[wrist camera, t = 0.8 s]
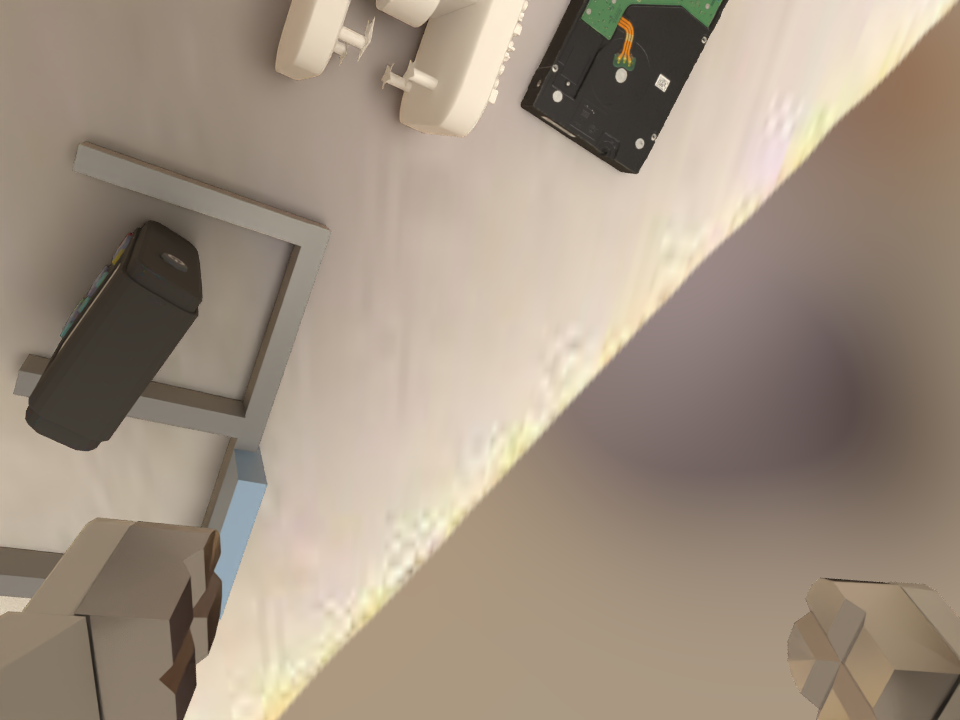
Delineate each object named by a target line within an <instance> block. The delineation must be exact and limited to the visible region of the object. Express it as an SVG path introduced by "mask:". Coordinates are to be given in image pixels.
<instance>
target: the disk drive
mask: <svg viewBox="0 0 960 720" xmlns="http://www.w3.org/2000/svg"><path fill="white" fill-rule="evenodd" d="M727 2H728V0H571V2H570V4H569V6H568V8H567V11H566V13H565V14H564V17H563V19H562V21H561V23H560V25H559V27H558V29H557V31H556V34H555V35H554V38H553V40H552V41H551V43H550V46H549V48H548V50H547V52H546V54H545V56H544V58H543V60H542V62H541V64H540V66H539V68H538V69H537V71H536V73H535V75H534V76H533V79H532V81H531V83H530V85H529V87H528V90H527V92H526V94H525V96H524V99H523V101H522V102H521V107H522V108H523V109H525V110H527V111H528V112H530V113H531V114H533V115H534V116H536V117H538V118H539V119H540V120H542V121H543V122H545V123H546V124H548V125H549V126H551V127H553V128H554V129H556V130H557V131H559V132H560V133H561V134H563V135H565V136H566V137H568V138H569V139H571V140H572V141H574V142H576V143H577V144H579V145H580V146H582V147H583V148H585V149H586V150H588V151H589V152H591V153H592V154H594V155H595V156H597V157H598V158H600V159H602V160H603V161H605V162H607V163H608V164H610V165H612V166H613V167H614V168H616V169H617V170H619V171H620V172H625V173H633V174H638V173H639V170H640V168H641V167H642V165H643V163H644V161H645V160H646V159H647V157H648V155H649V153H650V151H651V149H652V147H653V145H654V143H655V139H656V138H657V137H658V135H659V133H660V131H661V129H662V127H663V126H664V123H665V121H666V119H667V117H668V116H669V114H670V111H671V109H672V108H673V106H674V104H675V102H676V100H677V98H678V96H679V94H680V92H681V90H682V88H683V86H684V84H685V82H686V80H687V79H688V77H689V74H690V73H691V71H692V69H693V66H694V65H695V63H696V62H697V59H698V58H699V56H700V53H701V52H702V50H703V48H704V46H705V44H706V42H707V40H708V38H709V36H710V34H711V33H712V31H713V29H714V28H715V26H716V24H717V22H718V20H719V19H720V17H721V14H722V11H723V9H724V7H725V5H726V4H727Z"/></svg>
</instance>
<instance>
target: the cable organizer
mask: <svg viewBox="0 0 960 720" xmlns="http://www.w3.org/2000/svg"><path fill="white" fill-rule="evenodd" d="M350 2H351V0H292V2H291V6H290V9H289V12H288V15H287V18H286V22H285V25H284V28H283V31H282V35H281V38H280V42H279V46H278V50H277V56H276V62H275V70H276V72H279V73H281V74H283V75H285V76H288V77H290V78H292V79H295V80H297V81H299V80H303V79H307V78H311V77H315V76H319V75H320V74H321V73H322V72H323V70H324V69H325V67H326V66H327V64H328V62H329V60H330V58H331V56H332V53H333V52H335V53H337V54H339V55H340V56H339V58H341V61H340V65H341V63H342V61H343V59H344V57H345V56H346V55H347V51H348V47H349V44H351V45H353V46H355V47H357V48H359V49H360V52H359V56H358V60H359V59H360V57H361V56H362V54H363V53H364V51H365V49H366V48H367V46H368V45H369V43H370V42H371V39H372V33H373V27H374V21H375V17H374V19H373V21H372V22H371V24H370V25H369V19H368V23H367V26H366V30H365V33H364V36H363V35H361V34H359V33H357V32H355V31H353V30H351V29H349V28H347V27H345V26H343V23H344V20H345V17H346V14H347V11H348V8H349V5H350ZM527 6H528V1H526V0H376V7H377V9H379V10H381V11H383V12H385V13H387V14H389V15H391V16H393V17H394V18H396V19H398V20H400V21H402V22H404V23H406V24H408V25H410V26H412V27H415V28H416V27H419V26H421V25H422V24H424V23H425V22H426V21H427V20H428V19H429V20H428V23H427V26H426V29H425V32H424V35H423V38H422V40H421V43H420V46H419V49H418V52H417V55H416V58H415V61H414V62H413V63H412V61H411V59H410V62H409V66H408V69H407V71H406V72H405V74H404V75H403V77H400V76H398V75H396V74H394V73H392V72H391V70H392V67H393V65H394V63H393V65H392V66H391V67H390V68H389V65H387V68H386V71H385V74H384V76H383V77H382V79H381V81H383V87H384V85H385V83H389V84H391V85H393V86H395V87H397V88H399V89H401V90H404V93H403V97H402V101H401V106H400V122H401V123H402V124H404V125H406V126H408V127H411V128H413V129H415V130H418V131H420V132H422V133H428V134H438V135H447V136H456V137H465V136H466V135H468V134H469V133H470V132H471V131H472V129H473V128H474V127H475V125H476V124H477V122H478V121H479V119H480V117H481V115H482V114H483V112H484V110H485V108H486V105H487V103H488V102H490V103H492V104H494V103H495V100H496V97H497V94H498V92H499V91H497V90H495V89H496V88H497V86H498V84H499V79H497V77H498V76H499V75H500V74H502V72H503V71H504V68H505V66H504V64H502V63H503V61H505V62H506V61H507V60H508V59H510V57H509V54H508V53H507V52H510V51H514V50H515V48H514V47H512V46H513V43H514V42H513V41H512V40H511V39H512V37H514V36H518V35H520V32H521V29H522V25H520V24H518V23H517V22H521V21H522V18H523V16H524V13H522V12H524V11H525V9H526V8H527ZM338 39H340V40H342V41H344V42H345V44H344V43H341V42H339V41H338ZM357 62H358V61H357ZM339 67H340V66H339ZM383 87H382V89H383Z"/></svg>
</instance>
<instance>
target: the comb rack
mask: <svg viewBox="0 0 960 720" xmlns="http://www.w3.org/2000/svg"><path fill="white" fill-rule="evenodd" d="M72 171H75V172H78V173H81V174H84V175H87V176H90V177H93V178H96V179H99V180H102V181H105V182H108V183H111V184H114V185H117V186H120V187H123V188H126V189H129V190H132V191H135V192H138V193H141V194H144V195H147V196H150V197H153V198H156V199H159V200H162V201H165V202H168V203H171V204H174V205H177V206H180V207H184V208H187V209H190V210H193V211H196V212H199V213H202V214H205V215H208V216H211V217H214V218H217V219H220V220H223V221H226V222H229V223H232V224H235V225H238V226H241V227H244V228H247V229H250V230H253V231H256V232H259V233H262V234H265V235H268V236H271V237H274V238H277V239H280V240H283V241H286V242H289V243H292V244H295V245H294V248H293V251H292V254H291V257H290V260H289V263H288V266H287V269H286V272H285V275H284V278H283V281H282V284H281V287H280V290H279V293H278V296H277V299H276V302H275V305H274V308H273V311H272V314H271V318H270V321H269V324H268V327H267V330H266V333H265V336H264V339H263V342H262V345H261V348H260V351H259V354H258V357H257V360H256V363H255V366H254V369H253V372H252V375H251V378H250V381H249V384H248V387H247V390H246V393H245V396H244V399H243V402H242V401H238V400H233V399H229V398H224V397H220V396H215V395H211V394H206V393H202V392H197V391H193V390H188V389H184V388H179V387H175V386H170V385H165V384H161V383H156V382H152V381H151V382H150V383H149V385H148V386H147V387H146V389H145V390H144V392H143V393H142V394H141V396H140V397H139V399H138V400H137V401H136V403H135V404H134V406H133V407H132V408H131V410H130V411H129V412H128V414H127V415H126V416H127V417H132V418H137V419H142V420H147V421H153V422H158V423H163V424H168V425H173V426H178V427H183V428H188V429H193V430H198V431H203V432H208V433H213V434H219V435H224V436H229V437H231V439H230V442H229V445H228V448H227V451H226V454H225V457H224V460H223V463H222V466H221V469H220V472H219V475H218V478H217V481H216V484H215V487H214V490H213V493H212V496H211V499H210V502H209V505H208V508H207V511H206V514H205V517H204V520H203V523H202V526H201V528H211V529H216V530H217V531H218V532H219V533H220V544H221V555H220V558H219V560H218V562H217V565H216V567H215V570H214V572H215V573H216V574H217V575H218V577H219V578H220V579H221V580H222V602H221V613H220V617H219V619H221V617H222V614H223V611H224V608H225V606H226V603H227V600H228V597H229V594H230V591H231V588H232V585H233V582H234V580H235V577H236V574H237V571H238V568H239V565H240V562H241V559H242V556H243V554H244V551H245V548H246V545H247V542H248V539H249V536H250V533H251V530H252V527H253V525H254V522H255V519H256V516H257V513H258V510H259V507H260V504H261V501H262V499H263V496H264V493H265V490H266V487H267V481H266V476H265V472H264V467H263V462H262V457H261V452H260V448H259V444H260V441H261V438H262V435H263V432H264V429H265V426H266V423H267V420H268V417H269V414H270V412H271V409H272V406H273V403H274V400H275V397H276V394H277V391H278V388H279V385H280V382H281V379H282V376H283V373H284V370H285V367H286V364H287V361H288V358H289V356H290V353H291V350H292V347H293V344H294V341H295V338H296V335H297V332H298V329H299V326H300V323H301V320H302V317H303V314H304V311H305V308H306V305H307V302H308V300H309V297H310V294H311V291H312V288H313V285H314V282H315V279H316V276H317V273H318V270H319V267H320V264H321V261H322V258H323V255H324V252H325V249H326V246H327V244H328V241H329V238H330V235H331V232H332V231H331V230H330V229H329V228H328V227H326V226H325V225H323V224H320V223H317V222H314V221H311V220H308V219H305V218H303V217H300V216H297V215H294V214H291V213H288V212H286V211H283V210H280V209H277V208H274V207H271V206H268V205H266V204H263V203H260V202H257V201H254V200H251V199H248V198H246V197H243V196H240V195H237V194H234V193H231V192H228V191H226V190H223V189H220V188H217V187H214V186H211V185H208V184H206V183H203V182H200V181H197V180H194V179H191V178H188V177H186V176H183V175H180V174H177V173H174V172H171V171H169V170H166V169H163V168H160V167H157V166H154V165H151V164H149V163H146V162H143V161H140V160H137V159H134V158H131V157H129V156H126V155H123V154H120V153H117V152H114V151H111V150H109V149H106V148H103V147H100V146H97V145H94V144H91V143H89V142H84V143H81V144H79V147H78V150H77V154H76V158H75V162H74V165H73V169H72ZM50 360H51V359H48V358H43V357H39V356H34V355H29V356H28V358H27V359H26V361H25V362H24V364H23V366H22V367H21V369H20V370H19V373H18V377H17V381H16V385H15V389H14V392H13V394H15V395H21V396H26V397H30V395H31V394H32V392H33V390H34V388H35V387H36V385H37V383H38V381H39V379H40V378H41V376H42V374H43V372H44V370H45V369H46V367H47V365H48V363H49V361H50ZM63 555H64V554H59V553H50V552H41V551H32V550H23V549H14V548H5V547H0V596H11V597H22V598H32V597H33V596H34V595H35V593H36V592H37V590H38V589H39V588H40V586H41V585H42V584H43V582H44V581H45V580H46V578H47V577H48V575H49V574H50V573H51V571H52V570H53V569H54V567H55V566H56V565H57V563H58V562H59V561H60V559H61V558H62V556H63Z"/></svg>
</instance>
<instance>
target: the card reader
mask: <svg viewBox="0 0 960 720" xmlns="http://www.w3.org/2000/svg"><path fill="white" fill-rule="evenodd" d="M112 260H113V261H112V264H111V266H110V267H109V266H107V265H106V266H105V267H104V268H103V270H102V271H101V273H100V274H99V275H98V277H97V278H96V280H95V281H94V283H93V285H92V287H91V289H90V291H89V292H88V294H87V295H88V296H89V297H87V298H86V299H84V298H83V299H82V300H81V301H80V302H79V304H78V305H77V307H76V308H75V309H74V311H73V312H72V314H71V315H70V317H69V319H68V321H67V322H66V324H65V326H64V328H63V332H62V333H61V335H60V337H62V340H61V342H60V343H59V345H58V347H57V349H56V351H55V352H54V354H53V356H52V358H51V360H50V361H49V363H48V365H47V367H46V369H45V370H44V372H43V374H42V376H41V378H40V379H39V381H38V383H37V385H36V387H35V388H34V390H33V392H32V394H31V395H30V397H29V406H28V408H27V410H26V417H25V419H26V421H27V423H28V425H29V426H31V427H32V428H33V429H34V430H35V431H36V432H37V433H39V434H41V435H43V436H46V437H48V438H50V439H52V440H54V441H57V442H59V443H61V444H63V445H66V446H68V447H70V448H72V449H75V450H80V451H90V450H93V449H95V448H97V447H98V445H99V444H100V443H101V442H103V441H107V440H109V439H110V438H111V436H112V435H113V433H114V432H115V431H116V429H117V428H118V426H119V425H120V424H121V422H122V421H123V419H124V418H125V417H126V415H127V414H128V412H129V411H130V410H131V408H132V407H133V406H134V404H135V403H136V401H137V400H138V399H139V397H140V396H141V394H142V393H143V392H144V390H145V389H146V387H147V386H148V385H149V383H150V382H151V380H152V379H153V378H154V376H155V375H156V373H157V372H158V371H159V369H160V368H161V366H162V365H163V364H164V362H165V361H166V359H167V358H168V357H169V355H170V354H171V353H172V351H173V350H174V348H175V347H176V346H177V344H178V343H179V341H180V340H181V339H182V337H183V336H184V334H185V333H186V332H187V330H188V329H189V327H190V326H191V325H192V323H193V322H194V320H195V319H196V318H197V316H198V306H199V304H200V303H201V302H202V283H201V271H200V261H199V256H198V251H197V250H196V248H195V247H194V246H193V245H192V244H191V243H190V242H188V241H187V240H185V239H184V238H182V237H181V236H179V235H178V234H176V233H174V232H173V231H171V230H170V229H168V228H167V227H165V226H164V225H162V224H160V223H158V222H155V221H151V220H150V221H148V222H146V223H145V225H144V226H143V227H142V228H137V229H136V230H135V232H134V233H133V234H132V233H130V232H129V233H128V234H127V236H126V237H125V239H124V240H123V242H122V243H121V244H120V246H119V247H118V249H117V251H116V253H115V255H114V257H113V259H112Z"/></svg>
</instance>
